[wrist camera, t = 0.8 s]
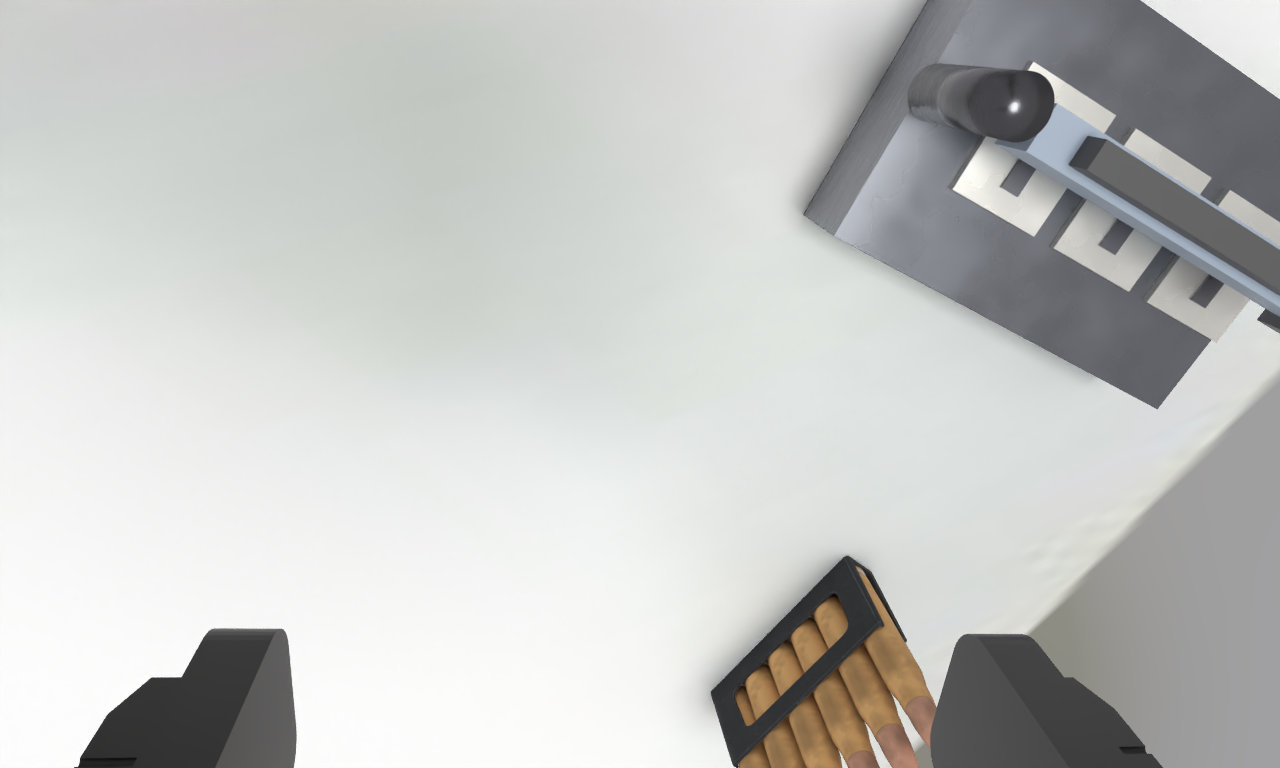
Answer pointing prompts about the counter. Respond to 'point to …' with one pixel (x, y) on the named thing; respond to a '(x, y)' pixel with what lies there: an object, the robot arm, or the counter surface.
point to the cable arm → (1156, 206)
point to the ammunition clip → (827, 683)
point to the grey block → (1038, 205)
